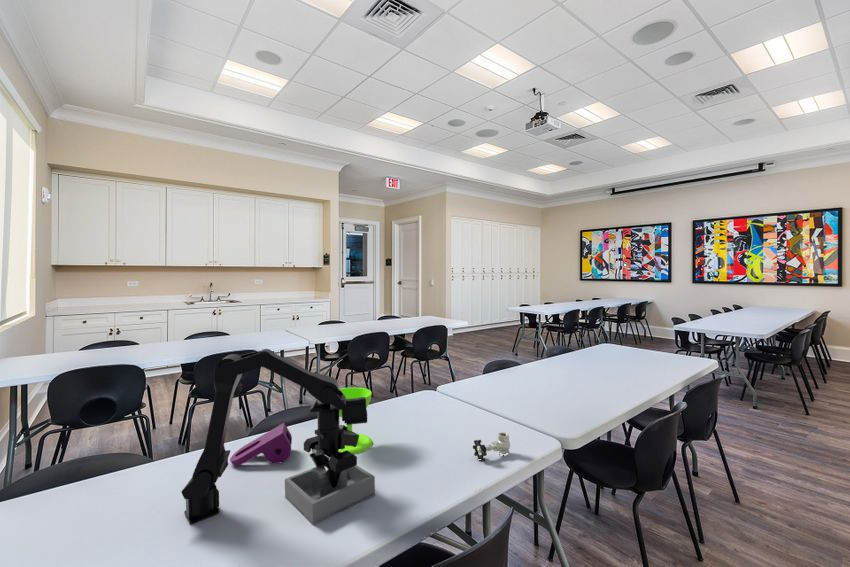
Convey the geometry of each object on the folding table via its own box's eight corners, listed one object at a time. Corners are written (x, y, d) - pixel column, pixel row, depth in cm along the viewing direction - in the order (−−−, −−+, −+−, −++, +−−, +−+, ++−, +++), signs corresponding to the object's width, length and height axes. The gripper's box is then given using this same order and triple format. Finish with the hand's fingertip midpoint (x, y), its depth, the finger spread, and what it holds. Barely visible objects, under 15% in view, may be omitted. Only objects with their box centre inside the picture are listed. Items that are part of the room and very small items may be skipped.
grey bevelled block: (320, 498, 98) (319, 474, 98) (312, 491, 102) (311, 468, 101) (347, 486, 104) (346, 464, 104) (338, 479, 107) (338, 458, 107)
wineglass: (352, 459, 124) (351, 403, 123) (316, 449, 131) (315, 397, 131) (381, 440, 138) (380, 390, 137) (347, 432, 145) (346, 385, 145)
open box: (312, 524, 91) (312, 504, 91) (285, 497, 102) (284, 479, 102) (374, 494, 103) (374, 476, 103) (343, 473, 115) (343, 456, 115)
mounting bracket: (240, 487, 119) (295, 454, 123) (227, 465, 118) (282, 433, 122) (245, 473, 128) (296, 442, 132) (232, 452, 127) (284, 422, 131)
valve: (502, 449, 129) (472, 456, 124) (502, 429, 129) (472, 436, 124) (515, 457, 123) (484, 465, 118) (514, 436, 123) (483, 444, 118)
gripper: (373, 427, 101) (374, 485, 101) (337, 410, 115) (338, 461, 115) (336, 439, 93) (337, 503, 94) (302, 419, 107) (303, 475, 107)
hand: (329, 483), depth 103 cm, fingers closed on grey bevelled block, 4 cm apart
